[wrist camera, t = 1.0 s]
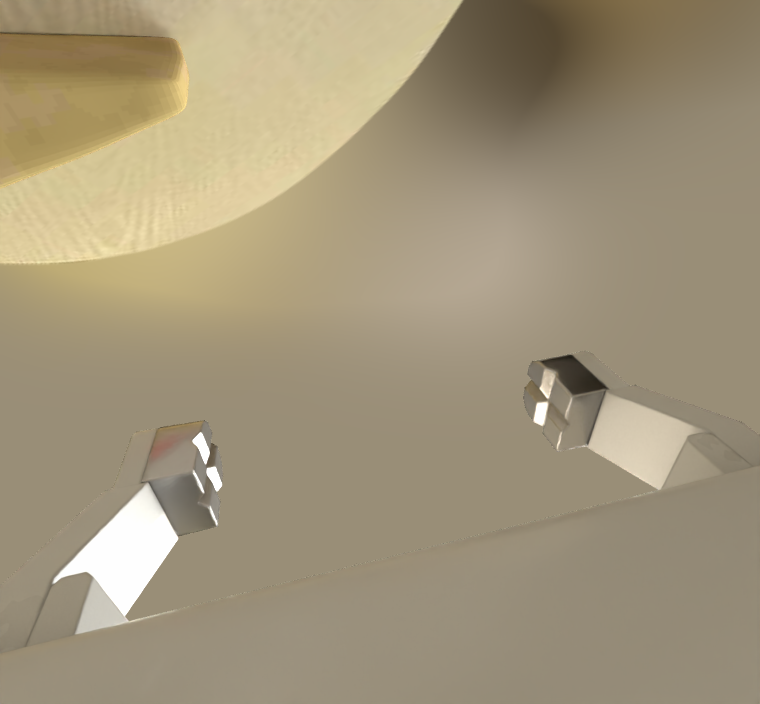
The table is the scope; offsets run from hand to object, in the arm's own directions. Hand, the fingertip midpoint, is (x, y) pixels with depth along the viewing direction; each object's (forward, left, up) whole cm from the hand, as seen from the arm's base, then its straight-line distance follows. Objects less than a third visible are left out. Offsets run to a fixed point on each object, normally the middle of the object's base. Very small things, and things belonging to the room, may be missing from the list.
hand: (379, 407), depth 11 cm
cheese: (+5, -12, -46) cm, 48 cm away
